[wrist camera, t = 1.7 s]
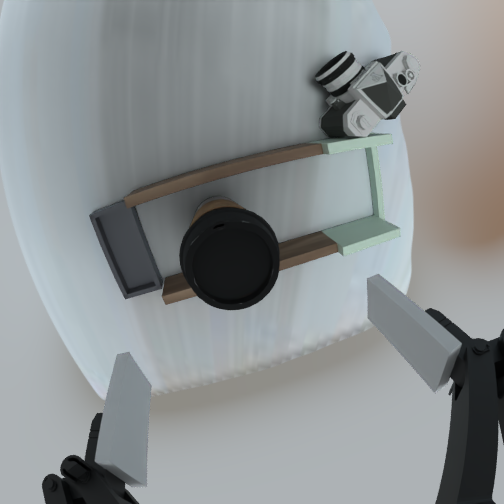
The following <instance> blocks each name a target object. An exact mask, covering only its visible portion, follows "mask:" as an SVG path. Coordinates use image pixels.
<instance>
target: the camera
mask: <svg viewBox="0 0 504 504" xmlns="http://www.w3.org/2000/svg"><path fill="white" fill-rule="evenodd" d="M419 69H420V64H419V61H418V59H417V58H416V57H415V56H413V55H412V54H411V53H408V52H404V51H401V52H398V53H395V54H393V55H390V56H387V57H384V58H380V59H377V60H373V61H371V63H370V64H369V65H367V66H366V67H365V68H364V67H363V66H362V65H361V64H360V63H359V62H357V60H356V59H355V58H354V55H353V54H352V53H349V52H347V51H345V52H342V53H341V54H339V55H337V56H336V57H335V58H333V59H332V60H331V61H329V62H328V63H327V64H326V65H325V66H324V67H323V68H322V69H321V70H320V71H319V72H318V73H317V75H316V80H317V83H318V84H321V85H322V86H323V87H325V88H326V89H327V91H328V92H329V93H330V94H331V95H330V96H329V97H328V98H327V99H326V100H325V101H326V102H327V103H328V104H329V106H330V107H329V108H328V110H327V111H326V112H325V113H324V114H323V115H322V116H321V118H319V128H320V129H321V130H322V131H323V132H324V133H325V134H326V135H327V136H329V137H356V138H359V137H367V136H368V135H369V134H370V133H371V132H372V130H373V129H374V128H375V127H376V125H377V124H378V123H379V122H380V120H381V119H385V120H390V119H396V117H397V116H398V115H399V113H400V112H401V111H402V109H403V108H404V107H405V105H406V104H405V102H404V100H403V97H404V95H403V91H404V90H405V91H406V93H407V94H409V92H410V91H411V89H412V88H413V86H414V84H415V83H416V81H417V78H418V75H419V73H418V72H419Z"/></svg>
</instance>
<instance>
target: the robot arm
mask: <svg viewBox="0 0 504 504" xmlns="http://www.w3.org/2000/svg"><path fill="white" fill-rule="evenodd" d="M367 293H368V319H369V320H370V321H371V322H372V323H373V324H374V325H375V326H376V327H377V329H378V330H379V331H380V332H381V333H382V334H383V335H384V336H385V337H386V338H387V339H388V341H389V342H390V343H391V344H392V345H393V346H394V347H395V348H396V349H397V351H398V352H399V353H400V354H401V355H402V356H403V357H404V358H405V360H406V361H407V362H408V363H409V364H410V365H411V366H412V367H413V369H414V370H415V371H416V372H417V373H418V374H419V375H420V377H421V378H422V379H423V380H424V381H425V382H426V383H427V385H428V386H429V387H430V388H431V389H432V391H433V392H435V393H436V392H438V391H439V390H441V389H442V388H443V387H445V386H446V385H447V383H448V381H449V378H450V377H451V378H452V379H453V381H454V382H453V384H452V387H451V389H450V391H449V395H451V393H452V410H451V421H450V431H449V439H448V447H447V453H446V459H445V465H444V470H443V475H442V479H441V484H440V489H439V493H438V496H437V500H436V503H435V504H496V503H495V502H494V501H493V500H492V493H493V487H494V480H495V473H496V463H497V451H498V420H499V424H500V429H501V433H502V438H503V443H504V329H503V330H502V332H501V335H500V337H499V338H496V339H494V340H491V341H486V340H484V339H480V338H477V339H472V338H470V337H469V336H468V335H467V334H466V333H465V332H463V331H462V330H461V329H460V328H459V327H458V326H456V325H455V324H454V323H452V322H451V321H450V320H449V319H448V318H446V317H445V316H444V315H443V314H442V313H441V312H439V311H437V310H434V309H432V308H429V309H427V310H426V311H424V310H423V309H421V308H420V307H419V306H418V305H416V304H415V303H414V302H413V301H411V299H409V298H408V297H407V296H406V295H404V294H403V293H402V292H401V291H399V290H398V289H397V288H396V287H394V286H393V285H392V284H391V283H389V282H388V281H387V280H386V279H384V278H383V277H382V276H381V275H379V274H377V275H375V276H372V277H370V278H367ZM151 387H152V385H151V384H150V383H149V381H148V380H147V378H146V377H145V375H144V374H143V372H142V371H141V369H140V368H139V366H138V365H137V363H136V362H135V360H134V359H133V357H132V356H131V354H130V353H129V352H126V353H122V354H117V357H116V361H115V364H114V368H113V372H112V376H111V380H110V384H109V388H108V393H107V397H106V402H105V406H104V411H103V413H97V414H96V416H95V418H94V419H93V421H92V424H91V429H90V431H91V432H90V433H89V439H88V444H87V450H86V455H85V461H84V460H82V459H81V458H80V457H79V456H76V455H70V456H68V457H66V458H65V459H64V460H63V462H62V464H61V469H60V471H61V474H62V475H63V476H64V477H66V478H60V477H59V476H57V475H55V474H49V475H48V476H46V477H45V478H44V480H43V483H42V489H43V493H44V498H45V503H46V504H139V503H138V502H137V501H136V499H135V498H134V497H133V496H132V495H131V494H130V492H129V491H128V490H126V489H125V483H126V484H128V485H130V486H131V487H147V447H148V425H149V411H150V398H151Z"/></svg>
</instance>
